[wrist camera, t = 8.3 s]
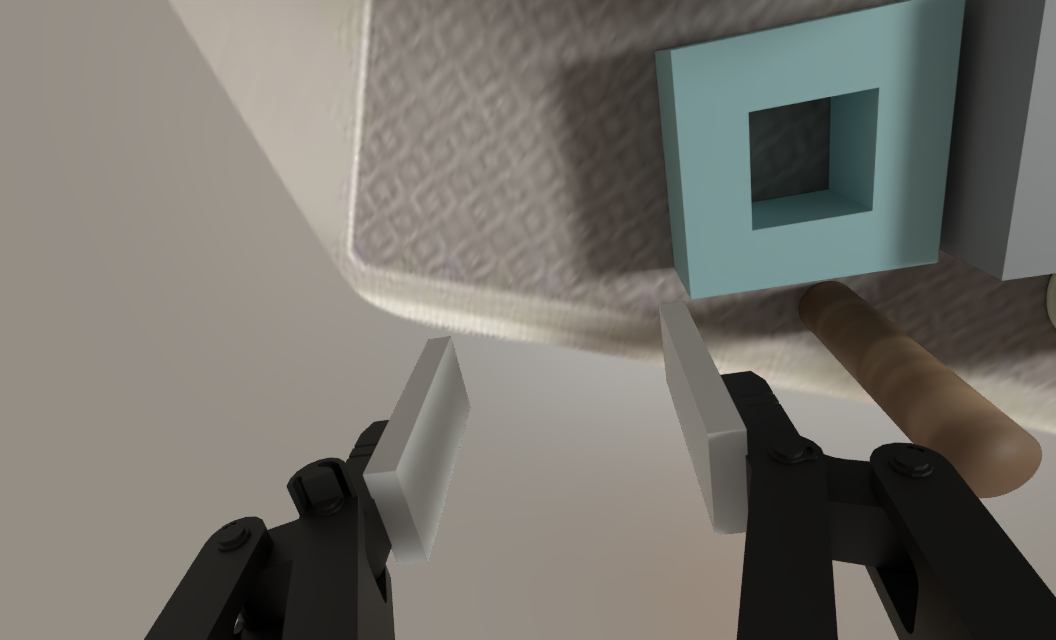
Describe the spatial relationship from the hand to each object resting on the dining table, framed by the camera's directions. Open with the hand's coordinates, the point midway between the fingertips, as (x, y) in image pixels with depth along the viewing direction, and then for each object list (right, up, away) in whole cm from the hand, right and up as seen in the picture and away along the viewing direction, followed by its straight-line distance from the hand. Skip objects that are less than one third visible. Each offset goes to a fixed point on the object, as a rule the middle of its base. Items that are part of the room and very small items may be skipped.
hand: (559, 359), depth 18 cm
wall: (+21, +12, +12) cm, 27 cm away
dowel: (+17, +2, +17) cm, 24 cm away
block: (+13, +11, +13) cm, 21 cm away
